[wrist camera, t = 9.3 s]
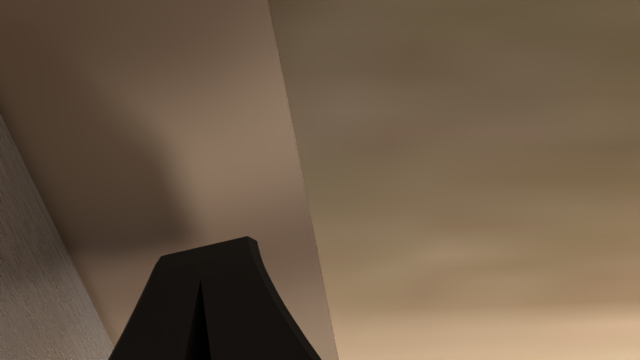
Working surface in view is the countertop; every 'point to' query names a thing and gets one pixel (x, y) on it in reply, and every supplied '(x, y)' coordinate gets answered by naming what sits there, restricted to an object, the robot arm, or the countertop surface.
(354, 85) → the countertop surface
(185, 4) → the flat wooden platform
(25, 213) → the grey rectangular block
